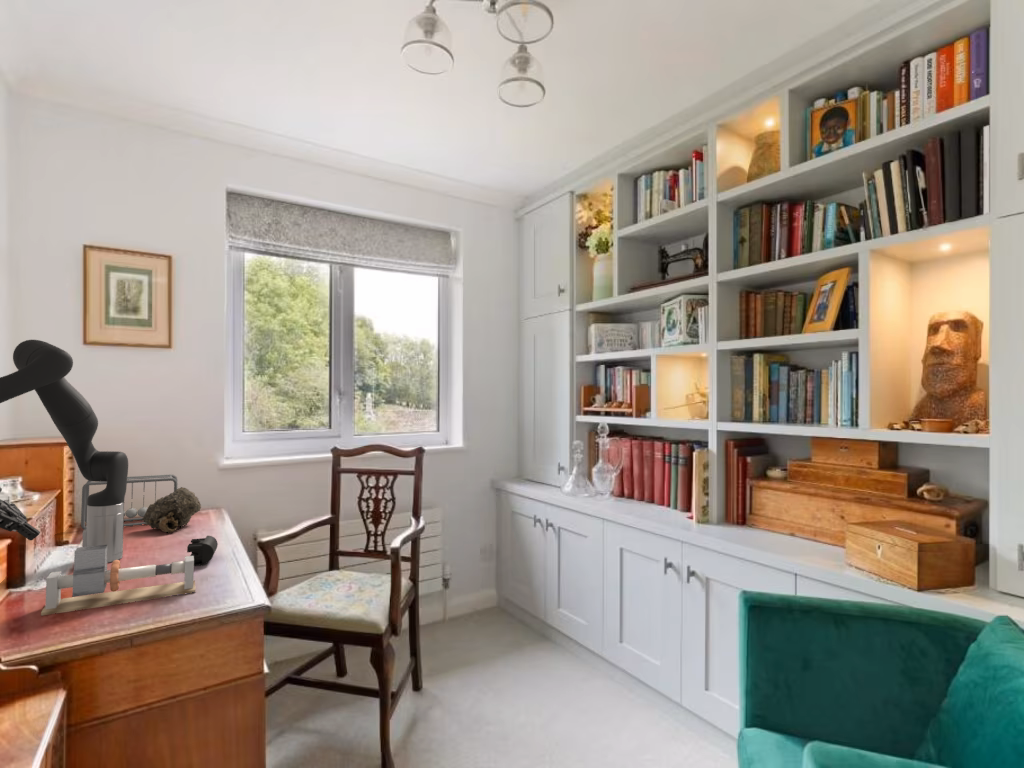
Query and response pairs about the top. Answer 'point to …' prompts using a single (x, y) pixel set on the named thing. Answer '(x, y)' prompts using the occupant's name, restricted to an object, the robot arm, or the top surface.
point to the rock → (172, 510)
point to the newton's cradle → (132, 512)
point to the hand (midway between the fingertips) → (36, 536)
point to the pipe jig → (120, 577)
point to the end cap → (202, 549)
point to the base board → (118, 597)
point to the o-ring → (114, 575)
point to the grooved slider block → (89, 570)
